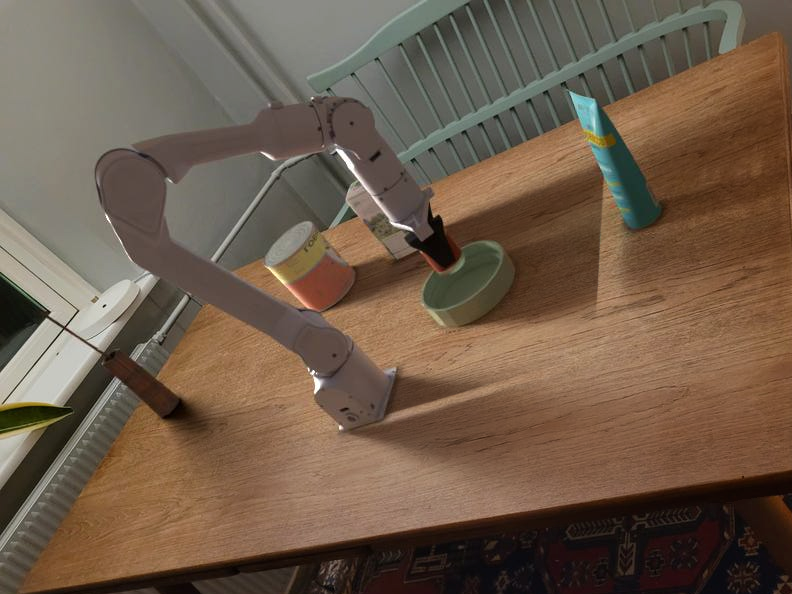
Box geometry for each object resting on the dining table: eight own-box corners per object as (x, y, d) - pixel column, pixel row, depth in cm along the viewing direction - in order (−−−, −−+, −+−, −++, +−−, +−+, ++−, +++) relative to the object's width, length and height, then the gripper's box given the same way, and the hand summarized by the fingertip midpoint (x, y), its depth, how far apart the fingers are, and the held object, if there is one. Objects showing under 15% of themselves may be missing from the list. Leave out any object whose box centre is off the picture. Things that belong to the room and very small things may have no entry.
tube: (615, 221, 96) (550, 102, 84) (642, 198, 96) (580, 75, 84) (647, 236, 90) (582, 110, 78) (676, 212, 90) (615, 82, 78)
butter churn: (200, 382, 137) (76, 282, 120) (174, 422, 132) (40, 323, 115) (174, 387, 142) (52, 292, 125) (148, 426, 137) (17, 332, 120)
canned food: (360, 283, 126) (316, 234, 119) (311, 322, 127) (265, 275, 120) (350, 260, 135) (308, 213, 128) (304, 296, 136) (261, 251, 129)
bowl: (511, 312, 95) (496, 292, 93) (427, 341, 102) (412, 322, 100) (522, 247, 104) (508, 227, 102) (445, 277, 111) (430, 259, 109)
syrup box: (427, 231, 125) (377, 166, 116) (422, 251, 121) (370, 186, 112) (401, 243, 127) (351, 181, 119) (396, 263, 123) (343, 200, 115)
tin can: (463, 271, 97) (439, 239, 94) (435, 281, 99) (411, 251, 96) (468, 249, 100) (445, 218, 97) (441, 260, 102) (418, 230, 99)
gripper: (425, 178, 84) (483, 259, 93) (400, 147, 96) (454, 221, 104) (378, 214, 85) (440, 291, 93) (359, 178, 97) (416, 250, 105)
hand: (445, 256), depth 99 cm, fingers closed on tin can, 4 cm apart
